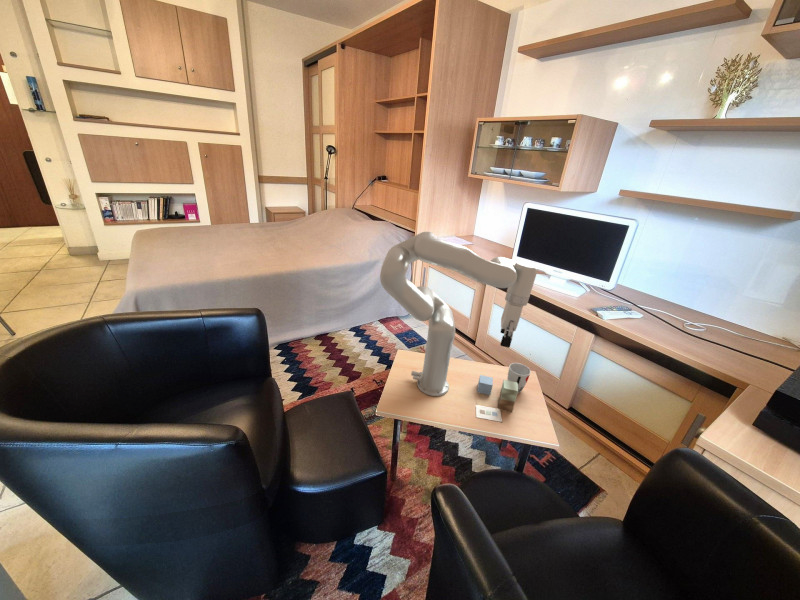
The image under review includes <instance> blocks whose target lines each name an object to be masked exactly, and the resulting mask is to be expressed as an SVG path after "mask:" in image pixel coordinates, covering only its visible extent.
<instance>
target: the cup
mask: <svg viewBox="0 0 800 600" xmlns="http://www.w3.org/2000/svg"><path fill="white" fill-rule="evenodd" d="M507 371H508V372H507V380H508V381H512V382H517V383H518V394H520V393H521V392H522V391H523V389H524V388H525V386H526V384H527V383H528V380H529V378H530V375H531V372H532V371H531V369H530V367H528V366H527V365H525V364H523V363H520V362H512V363H510V364H509V366H508V370H507Z"/></svg>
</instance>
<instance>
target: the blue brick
mask: <svg viewBox="0 0 800 600" xmlns="http://www.w3.org/2000/svg"><path fill="white" fill-rule="evenodd" d="M493 379H494V377H491V376H487V375H482V374H480V375H479V378H478V383H477V392H476V393H478V394H483V395H487V396H491V394H492V390H493V387H494V386H493V384H494V382H493V381H494V380H493Z"/></svg>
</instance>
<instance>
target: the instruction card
mask: <svg viewBox="0 0 800 600" xmlns="http://www.w3.org/2000/svg"><path fill="white" fill-rule="evenodd" d="M501 411H502V410H500V409H498V408H495V407H490V406H484V405H479V404H475V418H478V419H483V420H489V421H493V422H499V423H503V419H502V414H501Z"/></svg>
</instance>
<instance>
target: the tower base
mask: <svg viewBox="0 0 800 600" xmlns="http://www.w3.org/2000/svg"><path fill="white" fill-rule="evenodd" d="M501 384H502V385H501V389H500V392H499V395H498V398H497V399H498V400H497V409H500V411H505V412H507V413H513V410H514V407H515V403H516V401H517V397H518V394H519V393H518V383H517V382H512V381H508V379H503V381H502V383H501Z"/></svg>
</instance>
